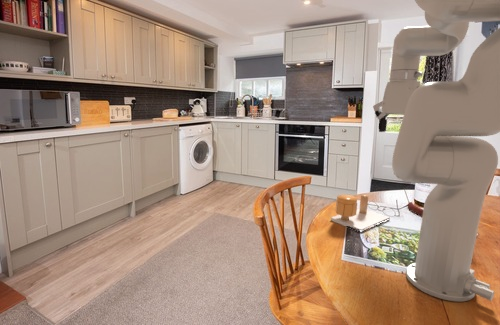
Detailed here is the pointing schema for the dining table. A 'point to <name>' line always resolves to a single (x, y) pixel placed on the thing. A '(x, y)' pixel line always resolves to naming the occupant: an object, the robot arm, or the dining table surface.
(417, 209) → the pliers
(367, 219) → the plate
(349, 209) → the wooden faceted cylinder
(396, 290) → the dining table surface
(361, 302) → the dining table surface
